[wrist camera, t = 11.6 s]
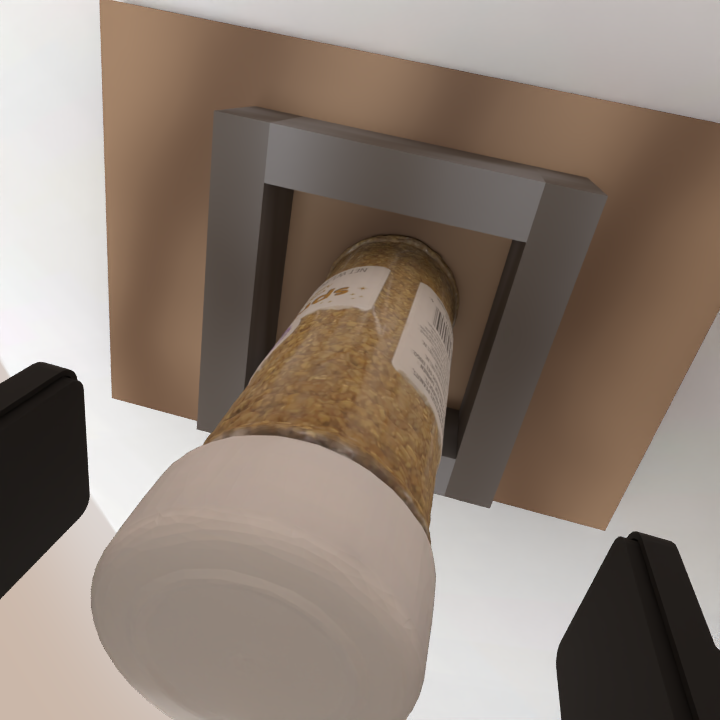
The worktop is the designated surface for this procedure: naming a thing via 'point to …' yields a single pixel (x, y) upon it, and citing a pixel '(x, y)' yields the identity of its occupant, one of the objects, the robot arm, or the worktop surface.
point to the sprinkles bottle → (300, 516)
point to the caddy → (414, 220)
